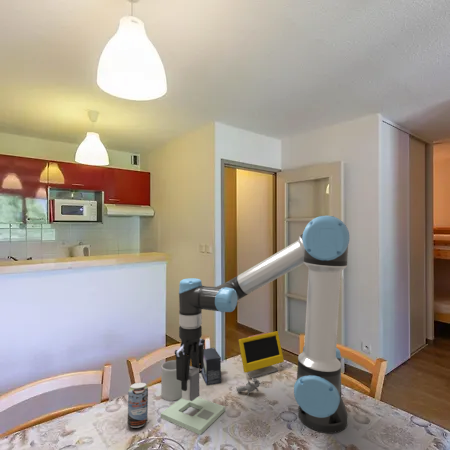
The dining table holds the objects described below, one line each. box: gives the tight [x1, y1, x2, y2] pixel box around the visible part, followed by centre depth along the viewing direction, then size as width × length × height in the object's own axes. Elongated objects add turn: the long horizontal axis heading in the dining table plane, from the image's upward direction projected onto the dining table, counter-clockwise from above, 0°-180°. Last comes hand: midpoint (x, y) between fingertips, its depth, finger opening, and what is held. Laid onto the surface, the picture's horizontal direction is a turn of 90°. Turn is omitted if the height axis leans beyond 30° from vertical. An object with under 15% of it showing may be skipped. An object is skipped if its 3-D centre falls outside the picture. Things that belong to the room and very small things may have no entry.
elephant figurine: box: [235, 377, 261, 397], centre depth 112 cm, size 10×6×9 cm
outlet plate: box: [160, 396, 226, 436], centre depth 101 cm, size 16×14×2 cm
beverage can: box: [126, 382, 149, 429], centre depth 96 cm, size 6×7×12 cm
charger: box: [188, 365, 200, 401], centre depth 101 cm, size 4×4×9 cm
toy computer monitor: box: [238, 330, 285, 379], centre depth 131 cm, size 20×8×16 cm, turn 119°
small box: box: [200, 347, 222, 386], centre depth 125 cm, size 11×6×10 cm, turn 17°
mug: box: [160, 359, 182, 402], centre depth 114 cm, size 12×8×11 cm
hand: (190, 395), depth 101 cm, fingers closed on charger, 4 cm apart
